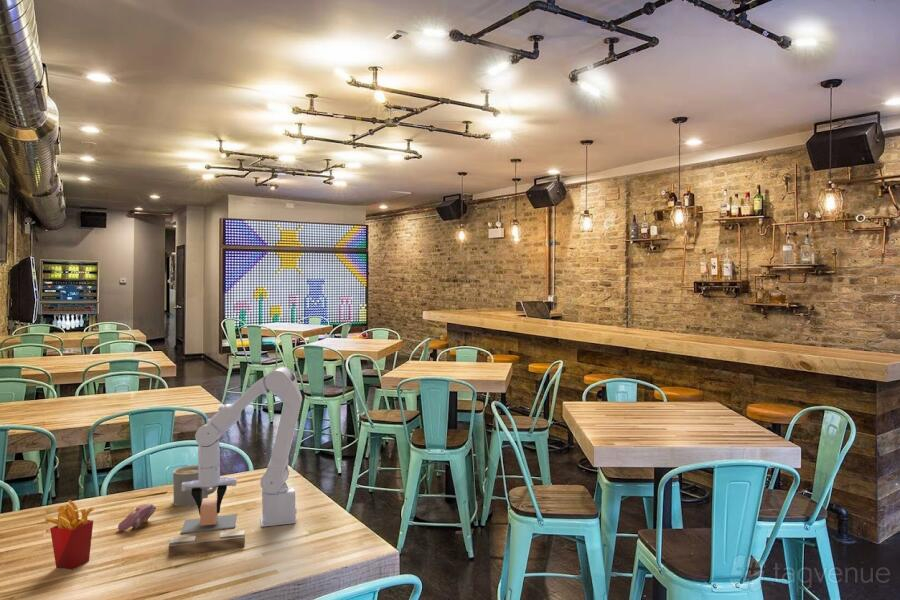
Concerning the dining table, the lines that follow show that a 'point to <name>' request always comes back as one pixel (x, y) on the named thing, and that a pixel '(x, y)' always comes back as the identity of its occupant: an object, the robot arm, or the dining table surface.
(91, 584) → the dining table surface
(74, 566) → the french fries
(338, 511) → the dining table surface
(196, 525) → the slate pad
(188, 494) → the coffee mug
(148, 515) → the video game controller
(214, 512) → the salmon pillar
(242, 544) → the brown u-shaped block
